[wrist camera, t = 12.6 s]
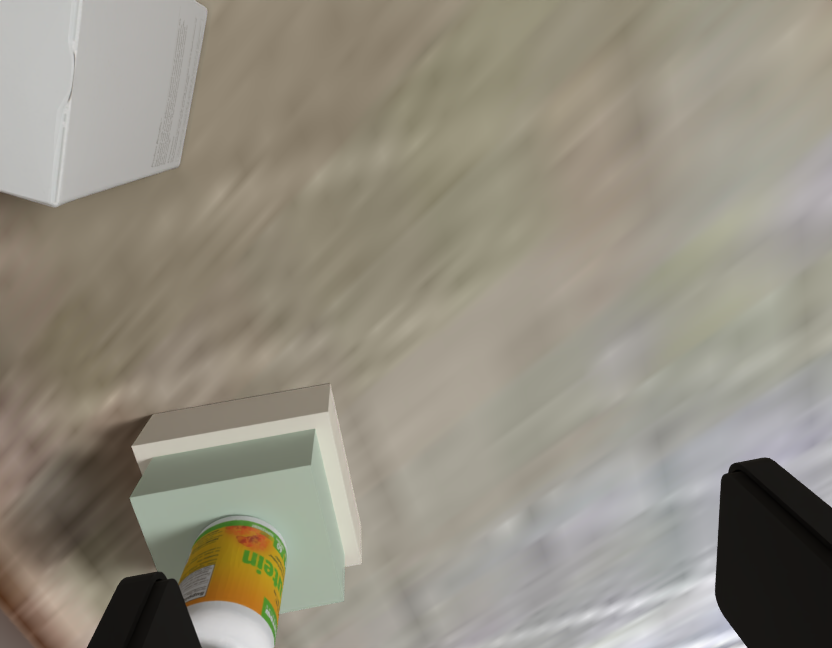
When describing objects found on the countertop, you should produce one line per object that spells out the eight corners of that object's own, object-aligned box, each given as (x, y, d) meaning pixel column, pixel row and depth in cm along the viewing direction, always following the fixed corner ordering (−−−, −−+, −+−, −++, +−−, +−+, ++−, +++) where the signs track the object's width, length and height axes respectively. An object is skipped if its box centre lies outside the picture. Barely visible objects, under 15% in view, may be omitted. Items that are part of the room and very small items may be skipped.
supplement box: (32, -57, 29) (-262, -217, 15) (211, 8, 31) (96, -83, 17) (14, 123, 32) (-251, 128, 18) (180, 173, 34) (57, 213, 20)
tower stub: (152, 414, 39) (104, 486, 31) (330, 383, 39) (325, 446, 32) (201, 555, 43) (169, 648, 35) (360, 525, 43) (362, 610, 36)
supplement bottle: (307, 556, 34) (291, 716, 25) (234, 602, 35) (192, 774, 25) (248, 495, 32) (208, 644, 23) (172, 544, 33) (104, 708, 24)
